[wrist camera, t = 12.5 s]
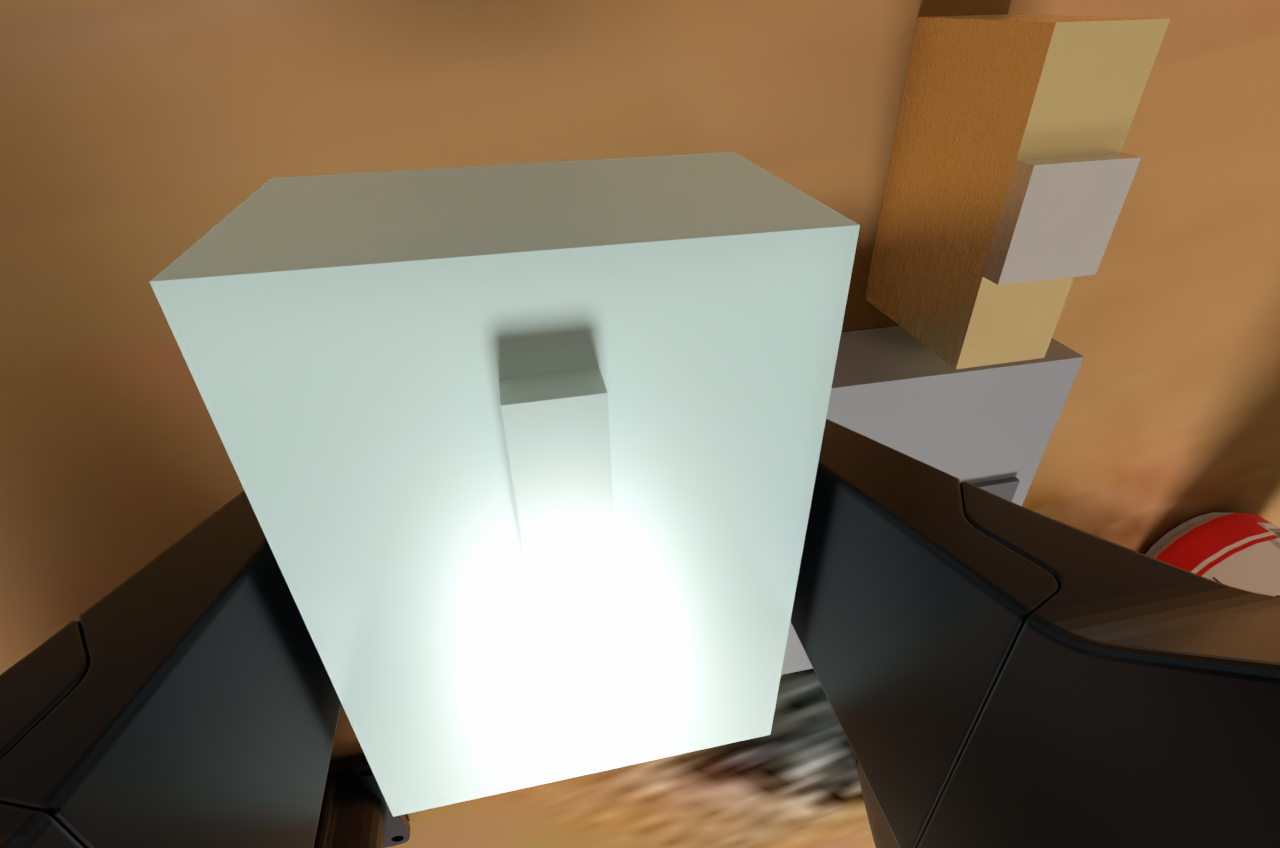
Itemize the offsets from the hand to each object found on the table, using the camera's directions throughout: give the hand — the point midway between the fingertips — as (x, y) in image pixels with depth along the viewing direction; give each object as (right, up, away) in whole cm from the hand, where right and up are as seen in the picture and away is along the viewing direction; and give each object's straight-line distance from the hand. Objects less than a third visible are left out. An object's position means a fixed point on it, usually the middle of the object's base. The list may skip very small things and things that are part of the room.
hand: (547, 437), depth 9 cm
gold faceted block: (+9, +7, +8) cm, 14 cm away
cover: (0, 0, 0) cm, 0 cm away
